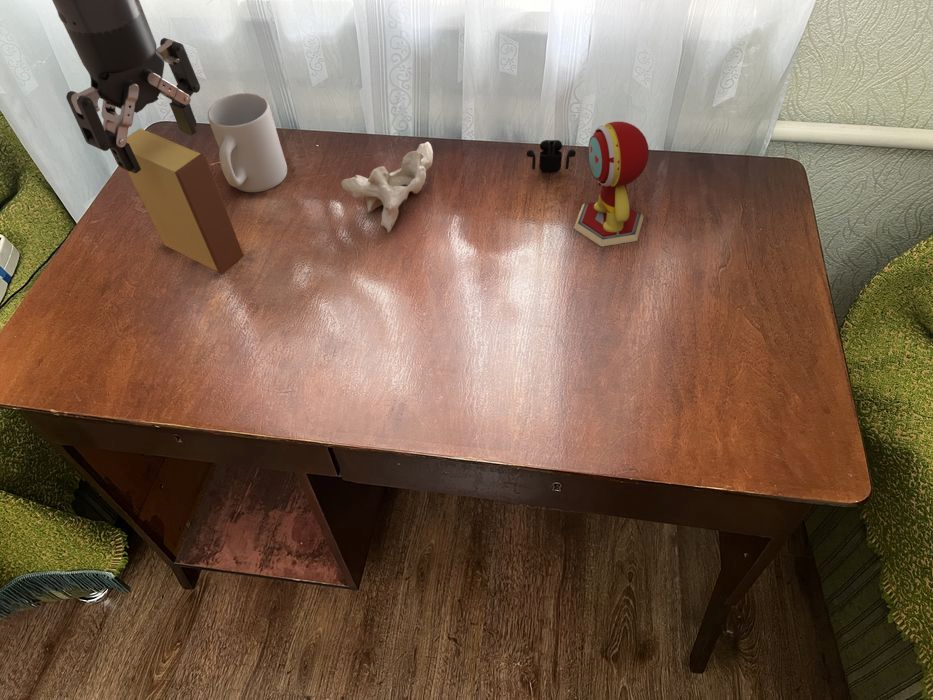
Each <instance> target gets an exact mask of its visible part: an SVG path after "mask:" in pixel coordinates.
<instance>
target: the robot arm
mask: <svg viewBox="0 0 933 700" xmlns="http://www.w3.org/2000/svg"><path fill="white" fill-rule="evenodd" d="M51 2H52V4H53V5H54V7H55V10H56V12H57V17H58V18H59V20H60V21H61V22H62V24H63V27H64V29H65V30H66V33H67V34H68V37H69V38H70V40H71V43H72V45H73V47H74V49H75V51H76V53H77V55H78V57H79V59H80V61H81V64H82V65H83V67H84V68H85V69H86V72H87V73H88V75H89V78H90V87H88V88H86V89H84V90H82V91H80V92H76V91H73V90H70V91H68V92H67V93H66V96H65V98H66V101H67V103H68V105H69V108H70V109H71V112H72V114H73V116H74V118H75V120H76V123H77V125H78V127H79V129H80V132H81V134H82V136H83V138H84V140H85V143H87V144H88V145H90V146H92V147H93V148H94V147H95V148H96V149H99V150H101V151H103V152H107V151H109V150H110V152H111V154H112V156H113V158H114V160H115V163H116V164H117V166H118V167H119V168H121V169H122V170H125V171H126V172H128V171H129V172H130V171H131V172H133V173H135V174H136V173H137V172H139V171H140V170H141V168H140V166H139V163H138V161H137V159H136V157H135V155H134V153H133V151H132V149H131V147H130V144H129V143H127V142H126V141H127V137H128V135H129V134H128V133H129V128H130V127H132V126H133V123H134V115H135V113H136V114H137V113H139V112H141V111H142V110H144V109H145V107H147V105H150V104H153V103H156V101H158V100H159V95H162V96H164V97H166V98H167V99H169V100H171V102H170V103H169V106H170V109H171V112H172V114H173V116H174V119H175V122H176V124H177V126H178V129H179V130H180V132H182V133H184V134H186V135H188V136H191V137H192V136H193V135H194V134H196V133H197V129H196V127H197V120H196V117H195V114H194V111H193V109H192V106H191V100H192V99H191V97H192V96H193V94H197V93H199V92H200V90H201V85H200V82H199V80H198V77H197V75H196V72H195V70H194V68H193V65H192V63H191V60H190V58H189V56H188V53H187V51H186V49H185V46H184V45H183V43H181V42H179V41H177V40H173V39H170V38H166V37H163V38H161V39H160V42H159V46H158V47H157V43H156V40H155V37H154V35H153V32H152V29H151V27H150V24H149V22H148V19H147V16H146V14H145V11H144V9H143V6H142V4H141V1H140V0H51ZM165 63H167V64H168V66H169V68H170V70H171V73H172V76H173V77H174V79H175V82H176V85H174V84H173V83H171V82H169V81H168V80H166V79H164V77H163V76H164V70H165ZM100 99H101V100H102V106H101V109H100V106H99V100H100ZM116 108H117V109H119V110H120V114H118V113H117V110H116ZM99 111H101V113H100V114H101V118H102V119H103V123H102V121H101V118H100V115H99V114H98V112H99Z"/></svg>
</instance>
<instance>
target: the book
mask: <svg viewBox="0 0 933 700" xmlns="http://www.w3.org/2000/svg"><path fill="white" fill-rule="evenodd" d="M126 142H127V143H129V144H130V147H131V149H132V151H133V153H134V155H135V157H136V159H137V161H138V163H139V166H140V168H141V170H140V171H139V172H137V173H136V174H135V173H133V172H131V171H130V172H129V171H127V173H128V176H129V177H130V179H131V182H132V184H133V185H134V187H135V189H136V192H137V194H138V196H139V197H140V200H141V202H142V204H143V205H144V207H145V209H146V211H147V214H148V216H149V217H150V220H151V221H152V223H153V226H154V227H155V229H156V232H157V233H158V235H159V237H160V239H161V241H162V243H163V246H165V247H167V248H169V249H171V250H173V251H174V252H177V253H179V254H181V255H183V256H185V257H187V258H189V259H191V260H193V261H195V262H197V263H199V264H201V265H203V266H205V267H207V268H209V269H211V270H213V271H215V272H217V273H218V274H220V275H224V273H226V272H227V271H228V270H229V269H230V268H231V267H233V266H234V265H235V264H236V263H238V262H239V261H240V260H241V259H242V258H243V257H244V256H245V255H244V253H243V250H242V247H241V245H240V242H239V240H238V237H237V235H236V232H235V230H234V229H235V228H234V227H233V225H232V222H231V219H230V217H229V214H228V211H227V209H226V206H225V204H224V200H223V198H222V196H221V193H220V190H219V188H218V185H217V182H216V180H215V177H214V175H213V172H212V169H211V167H210V165H209V162H208V159H207V157H206V154H204V153H200V152H198V151H196V150H193V149H190V148H188V147H186V146H183V145H181V144H180V143H179V144H178V143H176V142H174V141H172V140H169V139H167V138H164V137H162V136H159V135H157V134H154V133H152V132H150V131H147V130H145V129H143V128H139V129H137V130H136V131H133V133H131V134H128V135H127V141H126Z"/></svg>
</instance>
